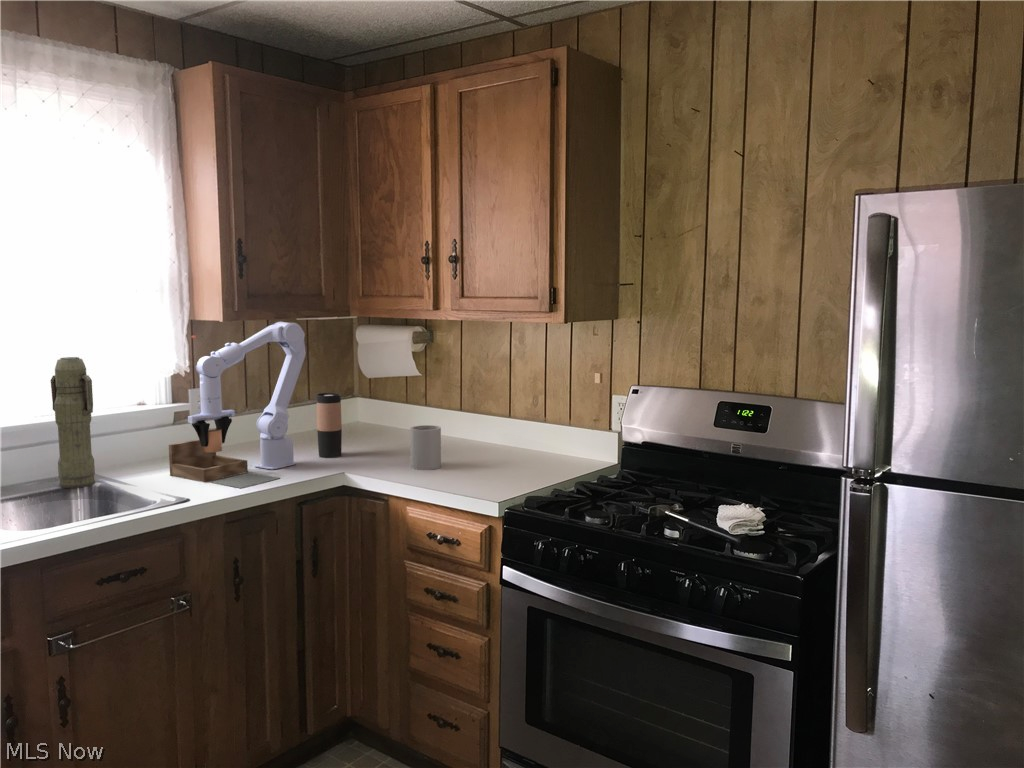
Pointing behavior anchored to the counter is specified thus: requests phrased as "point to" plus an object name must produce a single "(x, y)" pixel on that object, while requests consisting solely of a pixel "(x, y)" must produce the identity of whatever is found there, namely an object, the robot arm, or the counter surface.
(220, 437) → the peach orange cylinder
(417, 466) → the cup
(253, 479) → the slate mat
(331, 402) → the travel mug
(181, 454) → the potting tray
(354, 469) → the counter surface
